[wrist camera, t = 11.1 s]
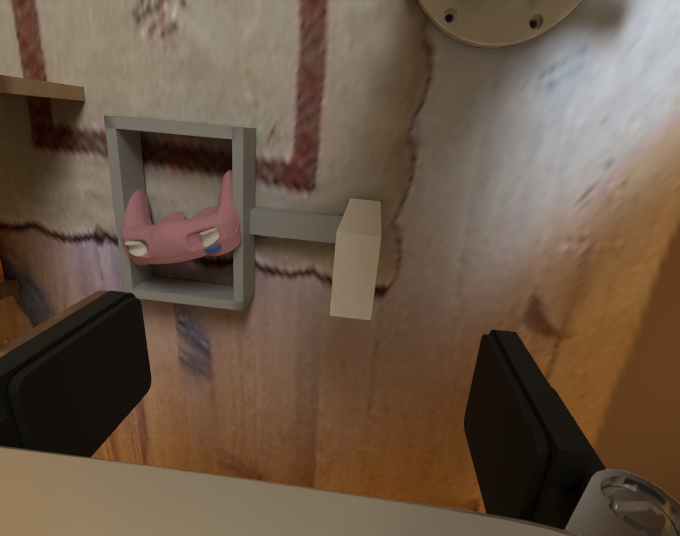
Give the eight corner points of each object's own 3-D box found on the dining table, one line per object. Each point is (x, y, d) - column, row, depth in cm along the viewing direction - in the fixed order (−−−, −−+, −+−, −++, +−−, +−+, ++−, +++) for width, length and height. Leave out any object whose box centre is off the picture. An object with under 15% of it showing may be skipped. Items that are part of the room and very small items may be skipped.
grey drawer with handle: (388, 140, 29) (392, 145, 19) (367, 309, 34) (362, 387, 24) (129, 117, 31) (1, 110, 20) (144, 283, 35) (48, 346, 25)
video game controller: (156, 225, 35) (125, 282, 30) (127, 182, 32) (87, 239, 27) (259, 209, 34) (244, 266, 29) (240, 162, 31) (218, 218, 26)
